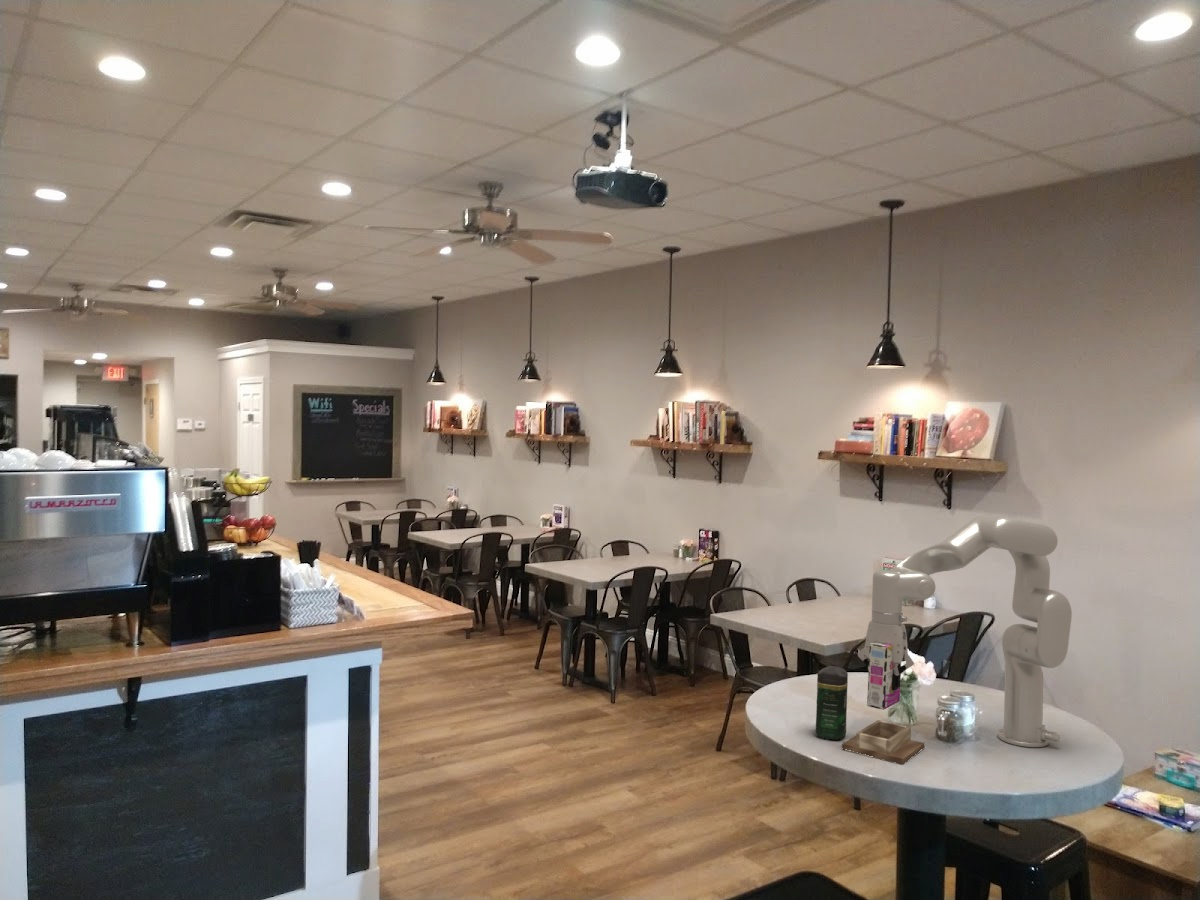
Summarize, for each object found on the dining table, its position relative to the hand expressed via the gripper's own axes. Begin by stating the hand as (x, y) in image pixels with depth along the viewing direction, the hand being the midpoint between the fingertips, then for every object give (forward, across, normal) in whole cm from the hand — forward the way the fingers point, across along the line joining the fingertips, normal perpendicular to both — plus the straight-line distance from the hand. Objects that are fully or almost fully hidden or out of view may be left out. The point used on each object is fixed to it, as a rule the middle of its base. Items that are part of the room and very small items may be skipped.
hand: (884, 686), depth 229 cm
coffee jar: (+17, +15, -1) cm, 22 cm away
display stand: (+17, 0, 0) cm, 17 cm away
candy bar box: (+5, 0, 0) cm, 5 cm away
